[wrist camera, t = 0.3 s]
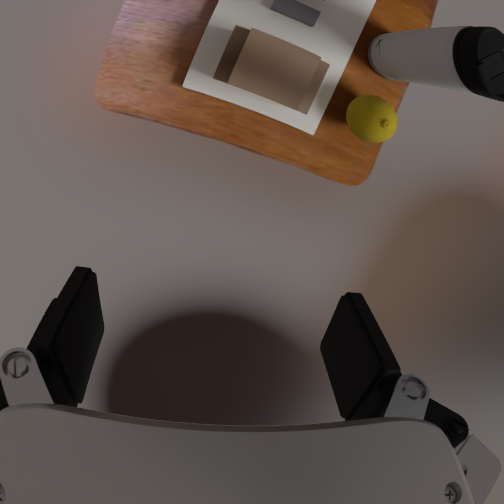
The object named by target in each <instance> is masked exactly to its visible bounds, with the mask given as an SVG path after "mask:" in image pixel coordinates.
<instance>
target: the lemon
mask: <svg viewBox="0 0 504 504" xmlns="http://www.w3.org/2000/svg"><path fill="white" fill-rule="evenodd" d="M346 121H347V124H348V126H349V128H350V130H351V131H352V132H353V133H354V134H355V135H356V136H357V137H359V138H360V139H362V140H365V141H368V142H382V141H385V140H387V139H389V138H390V137H391V136H392V135H393V134H394V132H395V130H396V127H397V116H396V113H395V111H394V109H393V108H392V106H391V105H390V104H389V103H388V102H387V101H385V100H384V99H382V98H380V97H378V96H374V95H362V96H359V97H357V98H355V99H354V100H352V102H351V103H350V104H349V106H348V108H347V111H346Z"/></svg>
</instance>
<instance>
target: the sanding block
mask: <svg viewBox="0 0 504 504" xmlns="http://www.w3.org/2000/svg"><path fill="white" fill-rule="evenodd" d="M321 58H322V57H320V56H318V55H316V54H314V53H312V52H310V51H307V50H305V49H303V48H301V47H299V46H296V45H294V44H292V43H289V42H287V41H285V40H282V39H280V38H278V37H275V36H273V35H270V34H267V33H265V32H262V31H260V30H257V29H254V28H252V29H251V30H249V29H246V28H243V27H240V26H237V25H236V26H235V28H234V30H233V32H232V34H231V37H230V39H229V41H228V43H227V45H226V48H225V50H224V52H223V55H222V57H221V59H220V62H219V64H218V66H217V69H216V71H215V74H214V76H213V78H212V79H215V80H218V81H221V82H224V83H227V84H229V85H232V86H235V87H238V88H241V89H243V90H246V91H249V92H251V93H254V94H257V95H259V96H262V97H264V98H267V99H270V100H272V101H275V102H277V103H279V104H282V105H284V106H287V107H289V108H291V109H294V110H296V111H299V112H301V113H303V114H306V115H307V114H308V111H309V109H310V107H311V105H312V103H313V101H314V98H315V96H316V94H317V92H318V90H319V88H320V85H321V83H322V81H323V79H324V77H325V75H326V72H327V70H328V68H329V66H330V64H328V63H326V62H324V61H322V60H321Z"/></svg>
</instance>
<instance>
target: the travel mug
mask: <svg viewBox="0 0 504 504" xmlns="http://www.w3.org/2000/svg"><path fill="white" fill-rule="evenodd" d="M368 58H369V62H370V64H371V66H372V68H373V69H374V71H375V72H376V73H377V74H379V75H380V76H381V77H383V78H386V79H390V80H398V81H405V82H413V83H419V84H425V85H430V86H436V87H441V88H446V89H451V90H456V91H460V92H465V93H469V94H473V95H477V96H484V97H487V98H491V99H495V100H498V101H502V102H503V101H504V34H503V33H502V32H501V31H499V30H498V29H496V28H493V27H472V26H460V27H459V26H458V27H439V28H427V29H417V30H408V31H400V32H393V33H386V34H381V35H378V36H376V37H375V38H374V39H373V40H372V41H371V43H370V44H369V47H368Z"/></svg>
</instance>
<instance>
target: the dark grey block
mask: <svg viewBox="0 0 504 504" xmlns="http://www.w3.org/2000/svg"><path fill="white" fill-rule="evenodd" d="M270 10H272V11H275V12H277V13H280V14H282V15H285V16H287V17H289V18H292V19H294V20H296V21H299V22H301V23H303V24H305V25H307V26H310V27H313V26H315V23H316V21H317V19H318V17H319V15H320V13H321V12H320V11H318V10H316V9H314V8H311V7H309V6H307V5H305V4H303V3H300V2H298V1H296V0H274V2H273V4H272V6H271V8H270Z"/></svg>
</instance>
